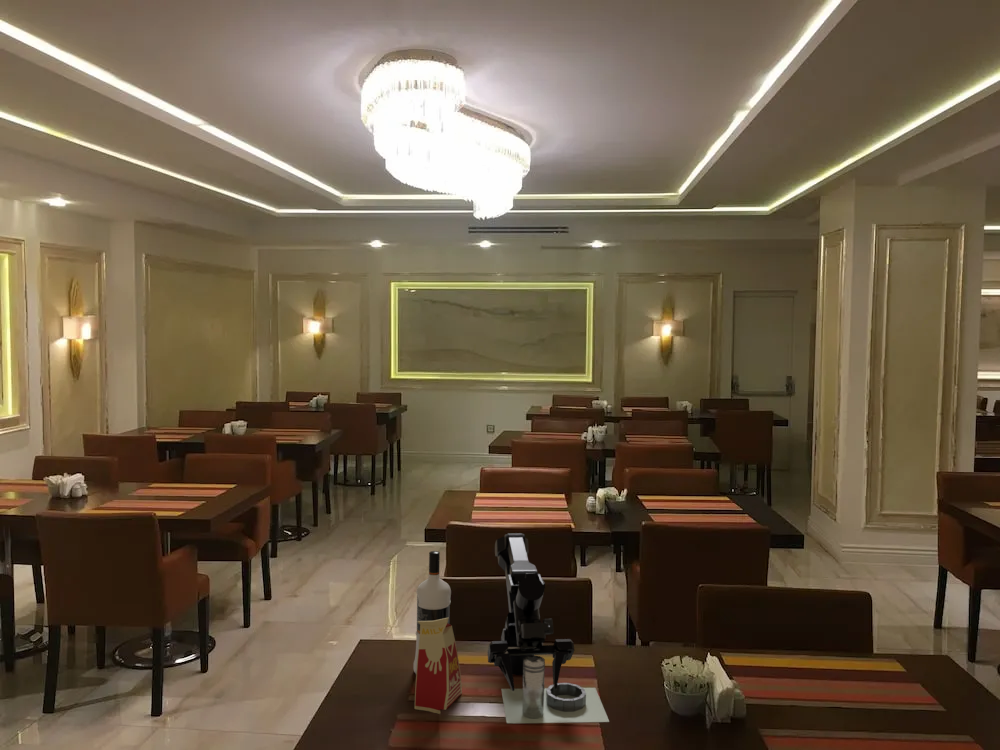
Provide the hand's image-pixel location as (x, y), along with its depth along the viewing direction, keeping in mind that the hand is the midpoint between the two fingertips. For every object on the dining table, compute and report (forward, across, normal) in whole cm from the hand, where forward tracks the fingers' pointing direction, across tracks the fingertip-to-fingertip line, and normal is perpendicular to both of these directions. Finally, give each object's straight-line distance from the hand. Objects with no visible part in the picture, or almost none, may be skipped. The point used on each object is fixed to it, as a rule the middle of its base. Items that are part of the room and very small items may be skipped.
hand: (534, 689), depth 173 cm
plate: (+2, +5, +9) cm, 10 cm away
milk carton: (-2, -21, +13) cm, 24 cm away
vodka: (-14, -21, +24) cm, 34 cm away
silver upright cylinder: (+3, 0, +5) cm, 6 cm away
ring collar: (0, +8, +8) cm, 12 cm away
